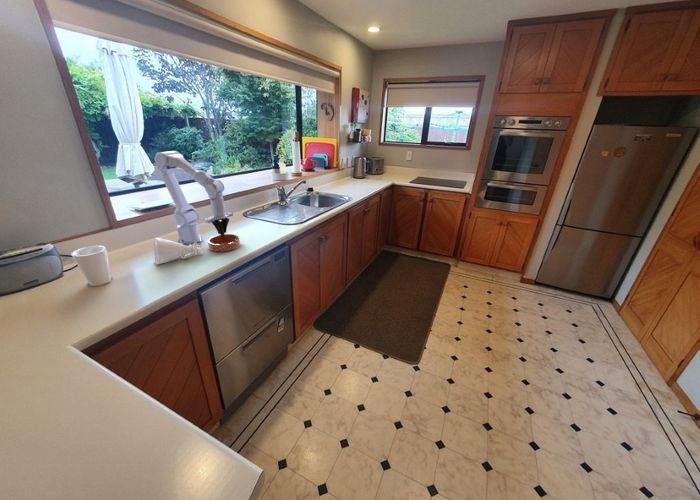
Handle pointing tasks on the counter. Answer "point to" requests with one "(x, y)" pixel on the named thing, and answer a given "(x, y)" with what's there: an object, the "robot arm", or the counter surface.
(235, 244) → the bowl
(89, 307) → the counter surface
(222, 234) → the stick
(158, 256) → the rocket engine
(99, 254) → the foam cup
